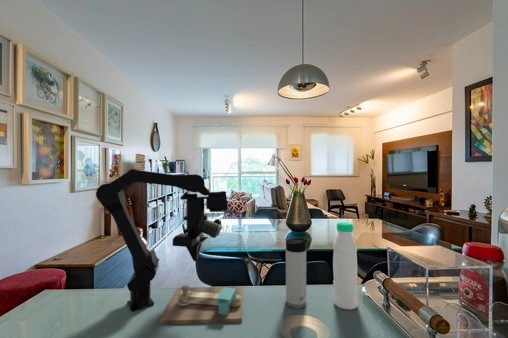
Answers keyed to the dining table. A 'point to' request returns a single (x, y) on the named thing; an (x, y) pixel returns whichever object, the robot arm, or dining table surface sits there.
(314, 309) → the dining table surface
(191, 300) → the link
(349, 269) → the water bottle
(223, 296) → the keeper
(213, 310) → the base board
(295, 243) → the travel mug
